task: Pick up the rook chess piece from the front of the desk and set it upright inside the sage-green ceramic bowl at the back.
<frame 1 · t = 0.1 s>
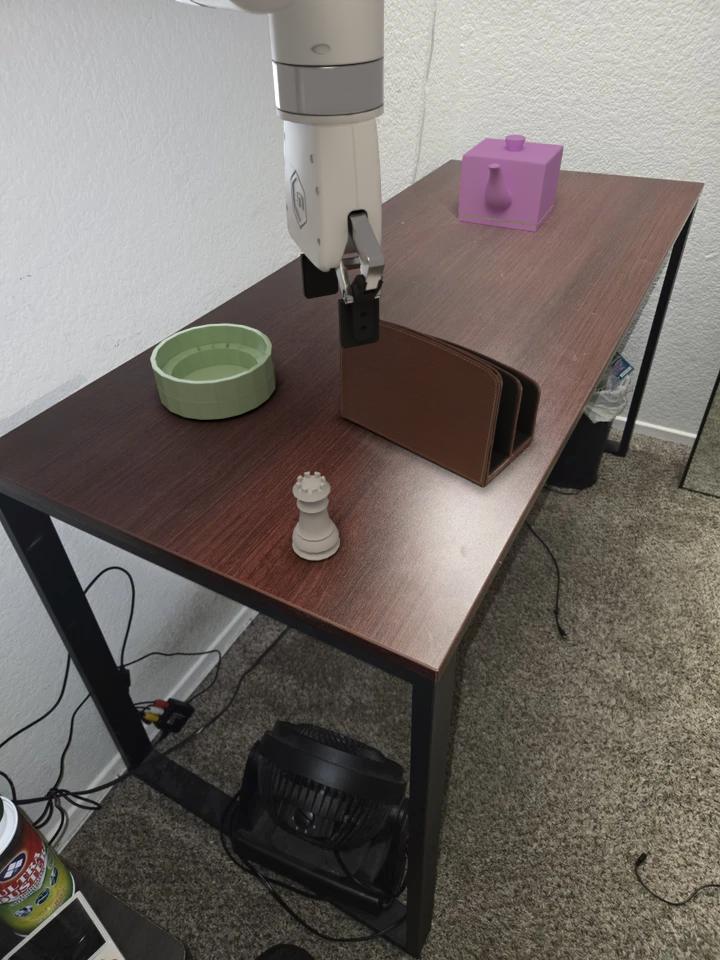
hand: (339, 318, 56), 18 cm above the table, tool pointing down, fingers open, 9 cm apart
rook chess piece: (316, 547, 61), on the table
letter holder: (433, 431, 75), on the table
bowl: (219, 390, 82), on the table
teapot: (504, 218, 127), on the table
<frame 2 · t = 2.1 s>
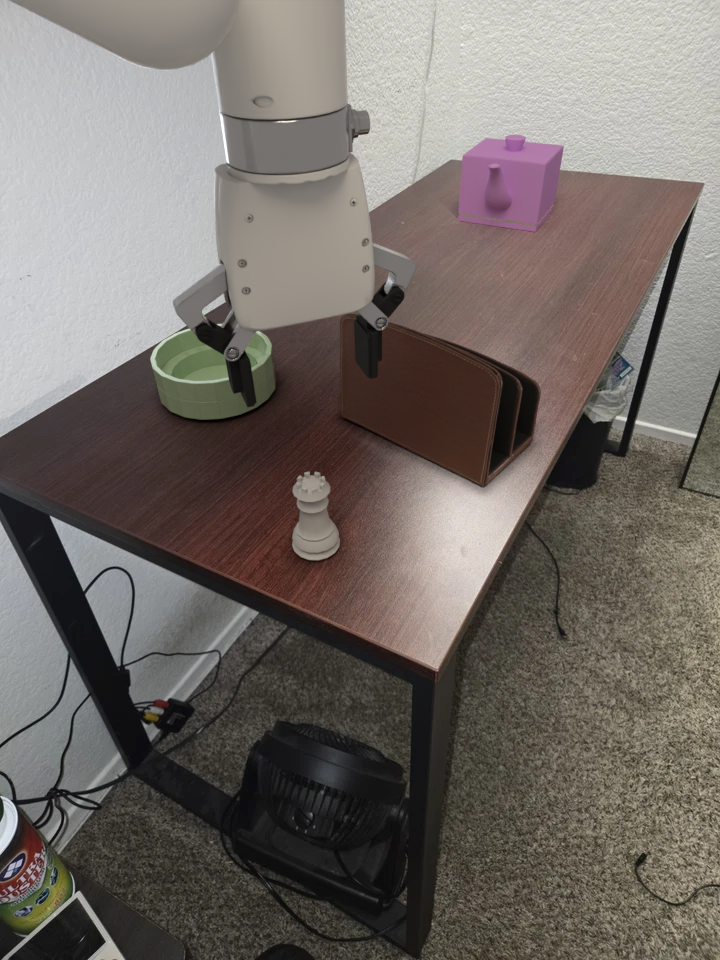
hand: (308, 383, 51), 17 cm above the table, tool pointing down, fingers open, 9 cm apart
nothing on the table moved.
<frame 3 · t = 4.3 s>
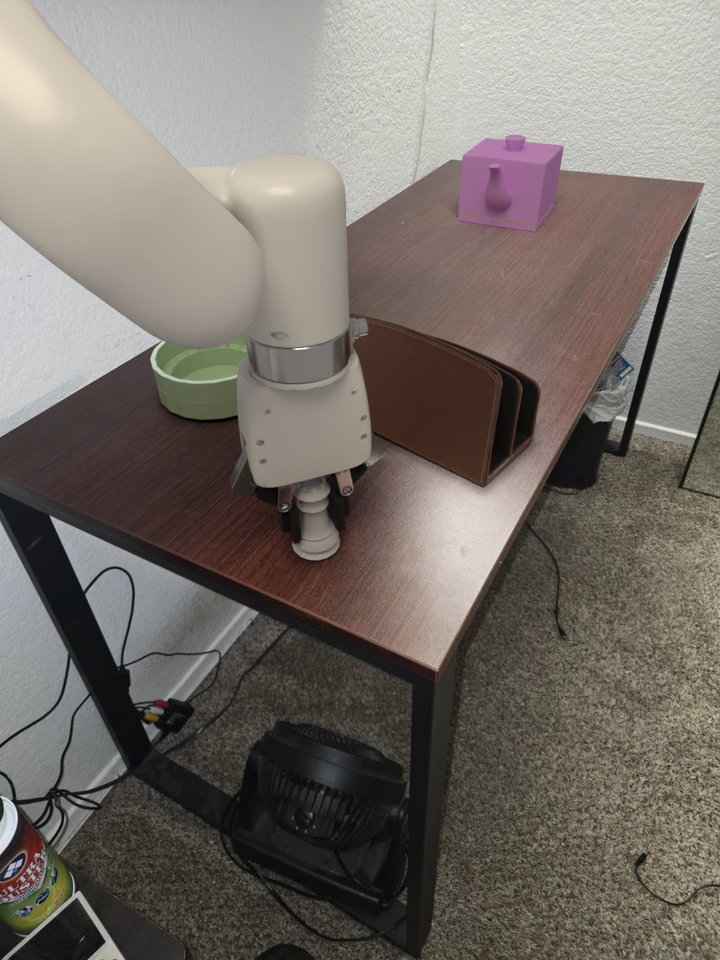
hand: (314, 525, 59), 3 cm above the table, tool pointing down, fingers closed on rook chess piece, 3 cm apart
rook chess piece: (316, 547, 61), on the table, touching gripper
everything else where it was.
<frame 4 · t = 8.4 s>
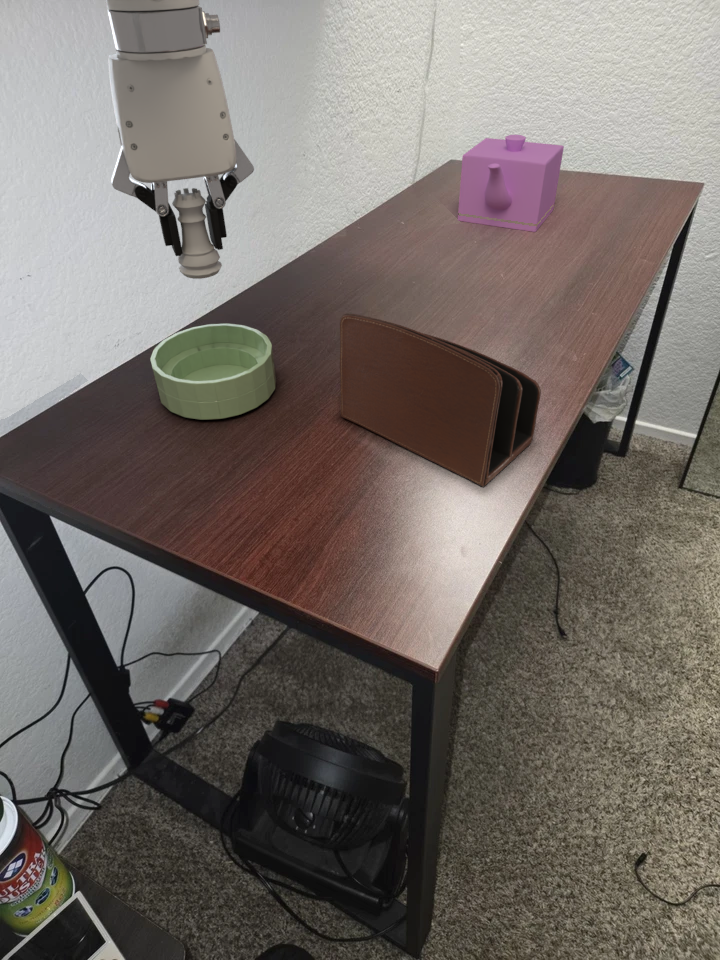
hand: (196, 246, 68), 19 cm above the table, tool pointing down, fingers closed on rook chess piece, 3 cm apart
rook chess piece: (201, 273, 69), point 16 cm above the table, touching gripper
everything else where it was.
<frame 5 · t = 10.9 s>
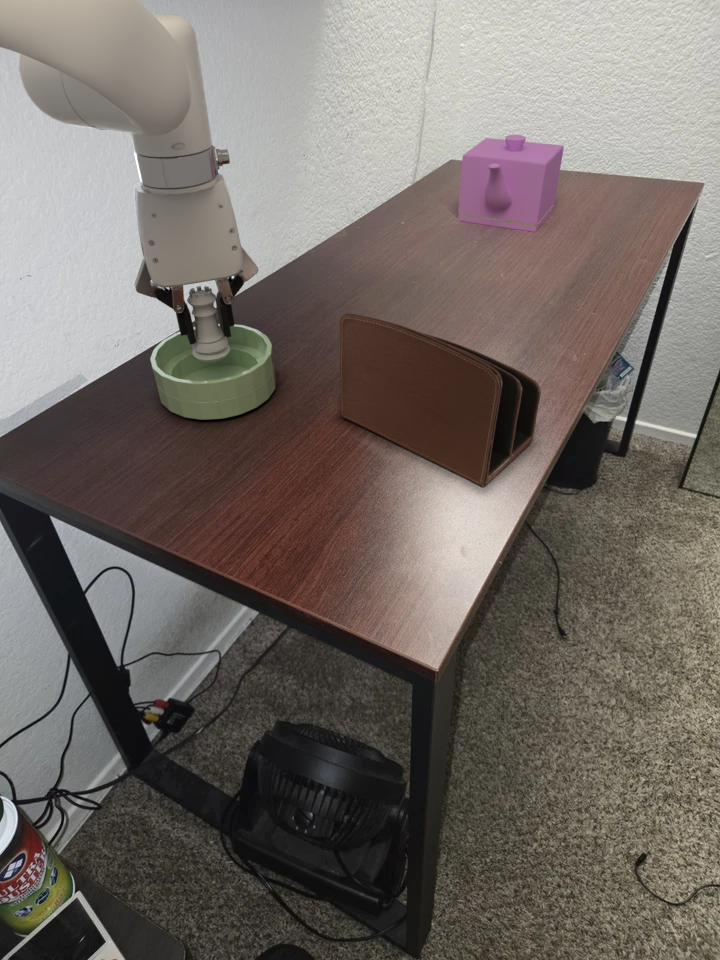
hand: (208, 334, 77), 8 cm above the table, tool pointing down, fingers closed on rook chess piece, 3 cm apart
rook chess piece: (212, 355, 79), point 5 cm above the table, touching gripper
everything else where it was.
when the fingers open (3 cm above the table, at t = 12.3 s): rook chess piece stays where it is, resting on bowl.
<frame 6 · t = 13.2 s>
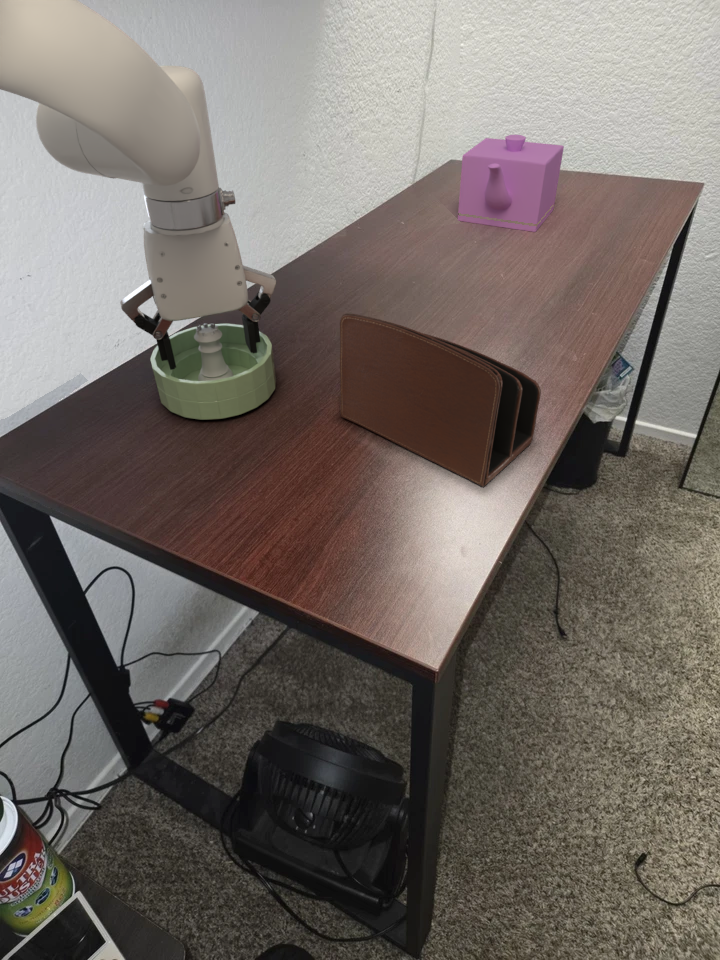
hand: (212, 356, 79), 5 cm above the table, tool pointing down, fingers open, 9 cm apart
rook chess piece: (218, 388, 81), resting on bowl
everything else where it was.
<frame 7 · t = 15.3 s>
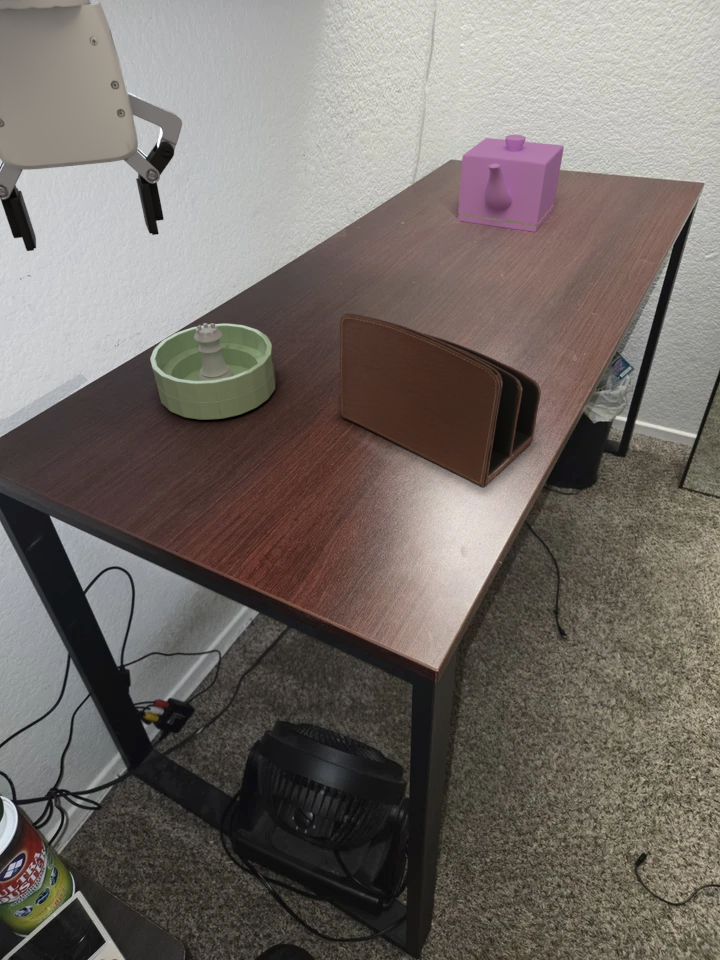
hand: (93, 237, 55), 25 cm above the table, tool pointing down, fingers open, 9 cm apart
nothing on the table moved.
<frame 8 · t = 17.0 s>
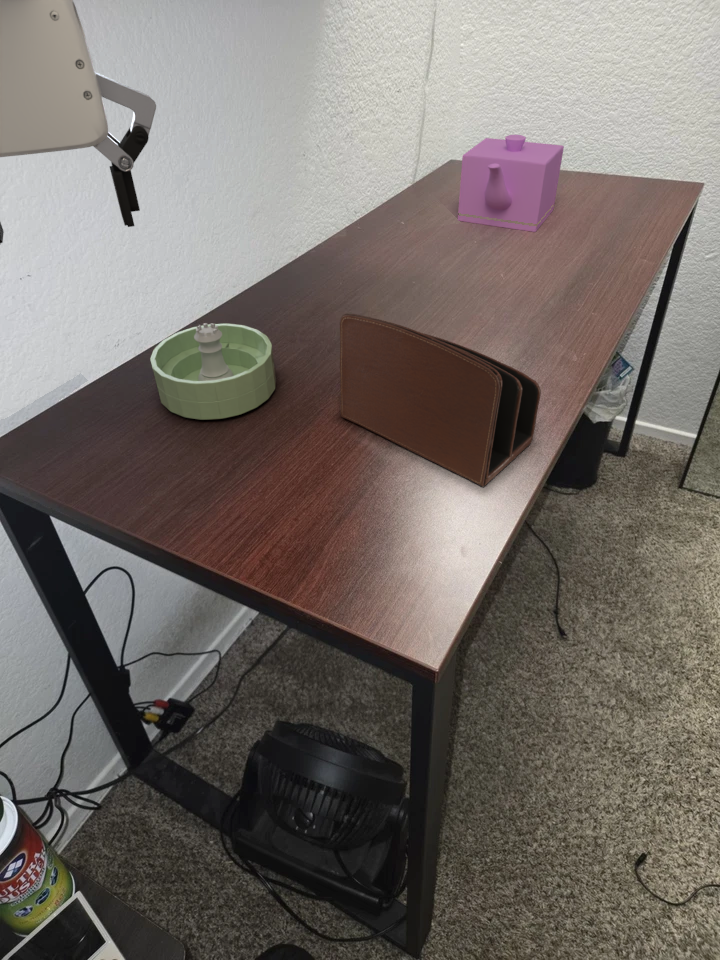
hand: (65, 230, 51), 26 cm above the table, tool pointing down, fingers open, 9 cm apart
nothing on the table moved.
at the end: rook chess piece inside the target area in the bowl (0.1 cm from its centre), point 0.4 cm above the bowl's base; rook chess piece tilted 0°; the gripper is holding nothing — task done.
